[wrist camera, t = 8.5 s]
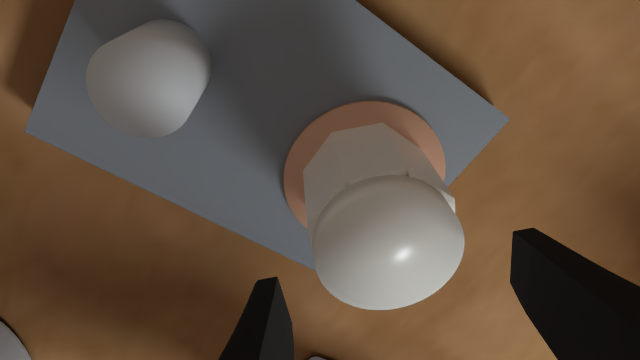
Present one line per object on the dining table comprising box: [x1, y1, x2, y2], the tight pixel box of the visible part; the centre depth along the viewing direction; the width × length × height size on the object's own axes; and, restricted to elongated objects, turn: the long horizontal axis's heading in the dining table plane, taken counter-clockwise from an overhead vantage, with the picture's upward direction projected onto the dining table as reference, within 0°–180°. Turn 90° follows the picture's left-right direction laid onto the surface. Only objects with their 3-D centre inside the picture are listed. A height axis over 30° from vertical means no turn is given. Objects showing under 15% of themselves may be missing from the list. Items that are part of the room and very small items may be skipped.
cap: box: [303, 123, 465, 310], centre depth 16 cm, size 5×5×5 cm
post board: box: [24, 0, 510, 271], centre depth 16 cm, size 16×11×5 cm
